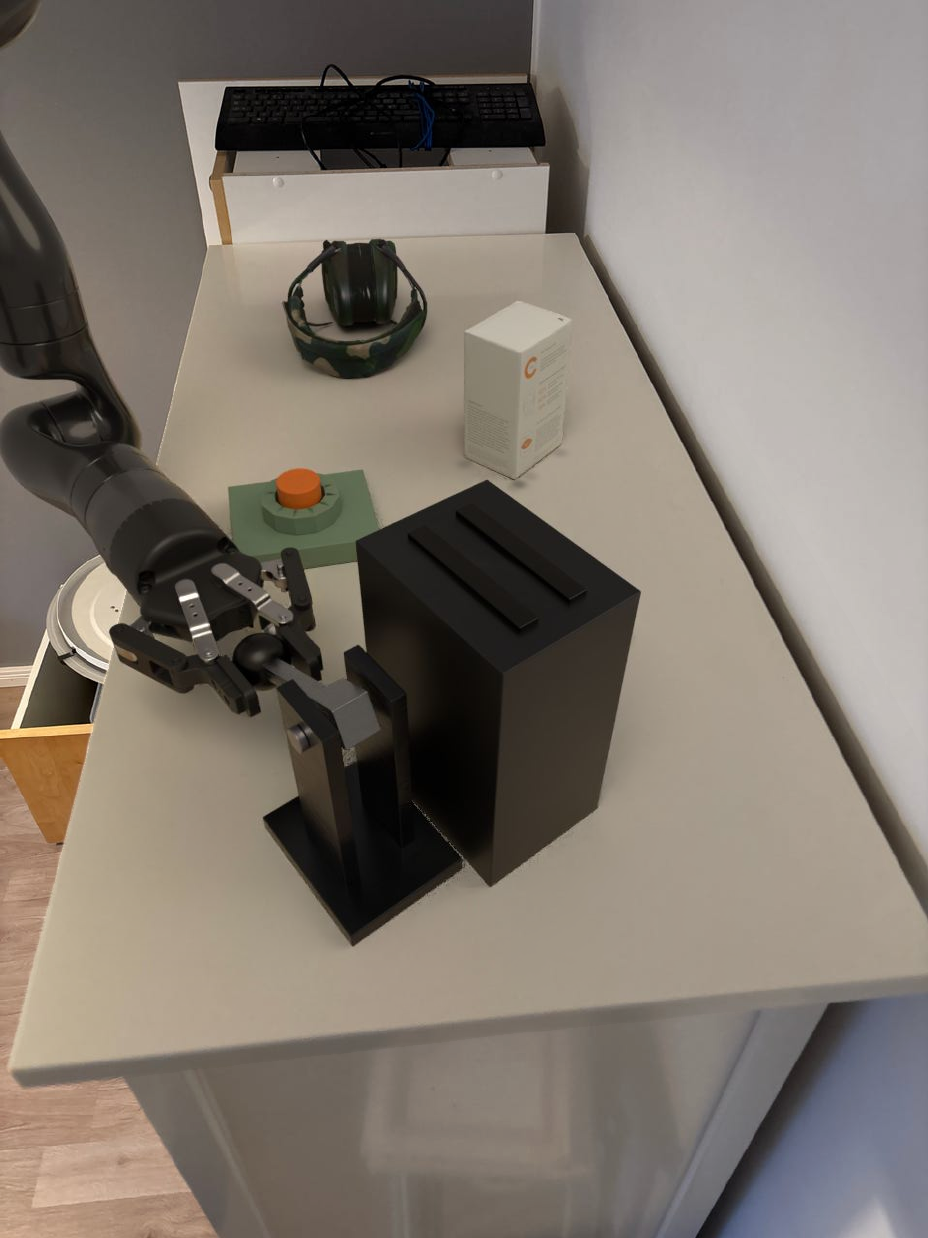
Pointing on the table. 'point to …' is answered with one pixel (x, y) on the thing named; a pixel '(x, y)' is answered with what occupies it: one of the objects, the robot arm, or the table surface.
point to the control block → (304, 520)
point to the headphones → (356, 308)
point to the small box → (515, 387)
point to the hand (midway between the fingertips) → (285, 688)
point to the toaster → (498, 668)
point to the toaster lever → (307, 687)
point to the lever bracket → (357, 809)
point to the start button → (299, 488)
